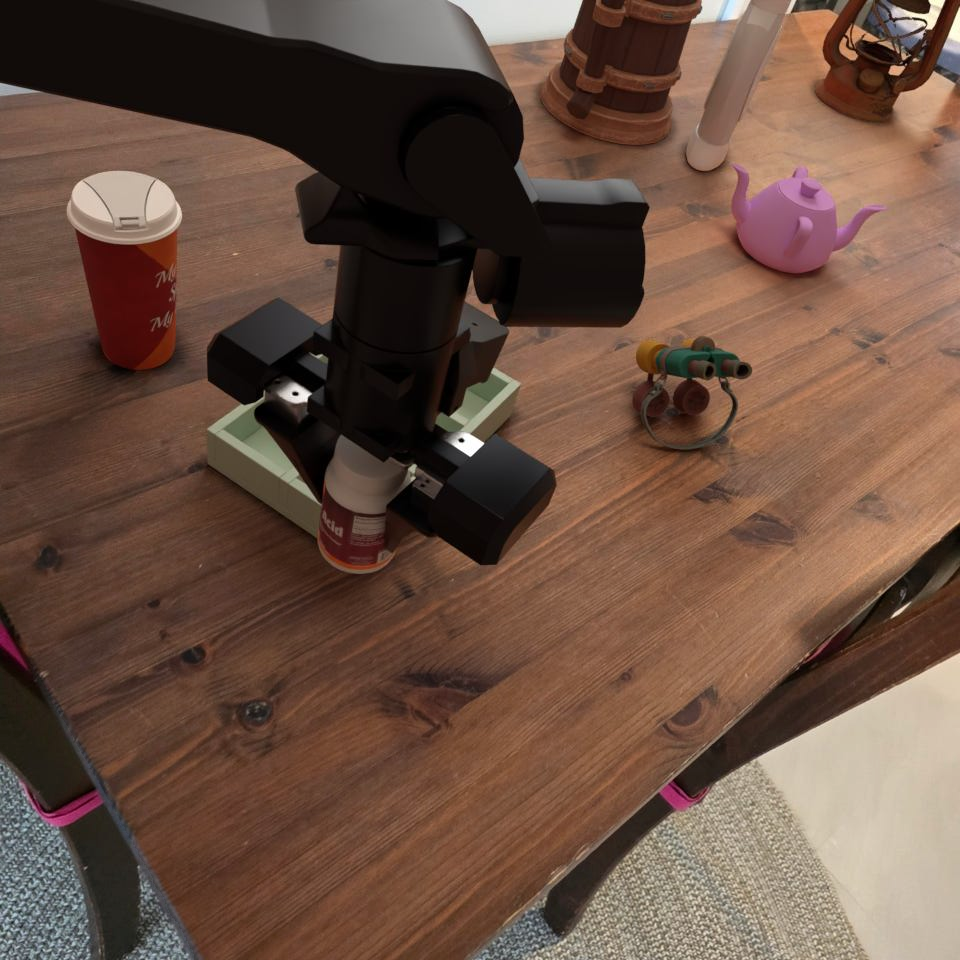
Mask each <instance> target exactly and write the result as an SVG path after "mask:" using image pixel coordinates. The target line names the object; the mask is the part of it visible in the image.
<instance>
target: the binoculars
mask: <svg viewBox="0 0 960 960" xmlns="http://www.w3.org/2000/svg"><path fill="white" fill-rule="evenodd" d="M635 361H636V364H637V366H638V368H639V370H641V371H643V372H644V373H646V374H647V379H646V380H645V381H642V382H641V383H640V384H639V385H637V386H636V387H635V389H634V391H633V393H632V397H631V403H632V407H633V408H634V410H635V411H636V412H638V414H640V417H641V418H640V419H641V422H642V424H643V426H644V428H645V430H646V432H647V433H648V435H649V436H650V438H652V440H653V441H654V442H657V443H658V444H661V445H663V446H665V447H668V448H671V449H677V450H693V449H695V450H696V449H699V448H702V447H705V446H708V445H710V444H712V443H714V442H716V441H717V440H719V439H720V438H721V437H722V436H723V435H724V434H725V433H726V432H727V431H728V430H729V428H730V427H731V425H732V423H733V422H734V420H735V419H736V415H737V413H738V410H739V401H738V398H737V396H736V395H735V394H734V393H733V391H734V390H732V389H731V382H730V381H729V380H728V378H734V379H737V380H741V381H743V380H746V379H748V378H749V377H751V375H752V374H753V366H752V365H751V364H750V363H748V362H746V361H743V360H741V359H740V358H739V356H738V355H737V354H736V353H734V352H729V351H727V350H724V349H722V348H721V347H720V348H719V347H716V343H715V341H714V340H713V338H711V337H709V336H706V335H700V336H698V337H696V338H689V339H686V340H684V341H682V343H681V344H680V345H679V346H671V347H670V346H669V345H668V344H665V343H662V342H661V341H658V340H655V339H646V340H644V341H642V342H641V343H640V344H639V345H638V347H637V349H636V353H635ZM654 375H659V376H658V377H657V379H656V380H654ZM668 376H673V377H677V378H681V379H685V380H683V381H681V382H680V383H678V385H677V386H676V387H675V389H674V391H673V394H672V403H673V405H674V408H675V409H676V411H679V412H682V413H683V414H684V413H685V414H687V415H691V416H698V415H700V414H702V413H703V412H704V411H706V409H707V408H708V407H709V404H710V400H711V396H710V391H709V390H708V389H707V387H705V386H704V385H703V384H702V383H701V382H699V381H698V380H697V379H700V380H704V381H706V382H707V381H711V380H712V379H713V378H714V377H715V378H717V379H718V382H719V384H720V388H721V390H722V391H723V392H725V393H726V394H727V395H728V396H729V397H730V400H731V402H732V407H731V410H730V411H729V412H730V413H729V415H728V417H727V419H726V420H725V422H724V424H723V425H722V426H721V428H720V429H719V430H718V431H716V433H715V434H714V435H712V436H711V437H709V438H707V439H705V440H703V441H700V442H697V443H693V444H688V445H675V444H670V443H666V442H663V441H661V440H660V439H658V437H657V436H656V435H655V434H654V433H653V430H652V429H651V427H650V425H649V422H648V418H647V416H648V417H651V418H656V417H659V416H661V415H663V414H664V413H665V412H666V411H667V409H668V408H669V405H670V399H671V398H670V394H669V392H668V391H667V389H666V388H664V387H665V386H666V384H667V380H668ZM721 379H722V380H721ZM660 380H661V381H662V382H663V383H659V381H660Z"/></svg>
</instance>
